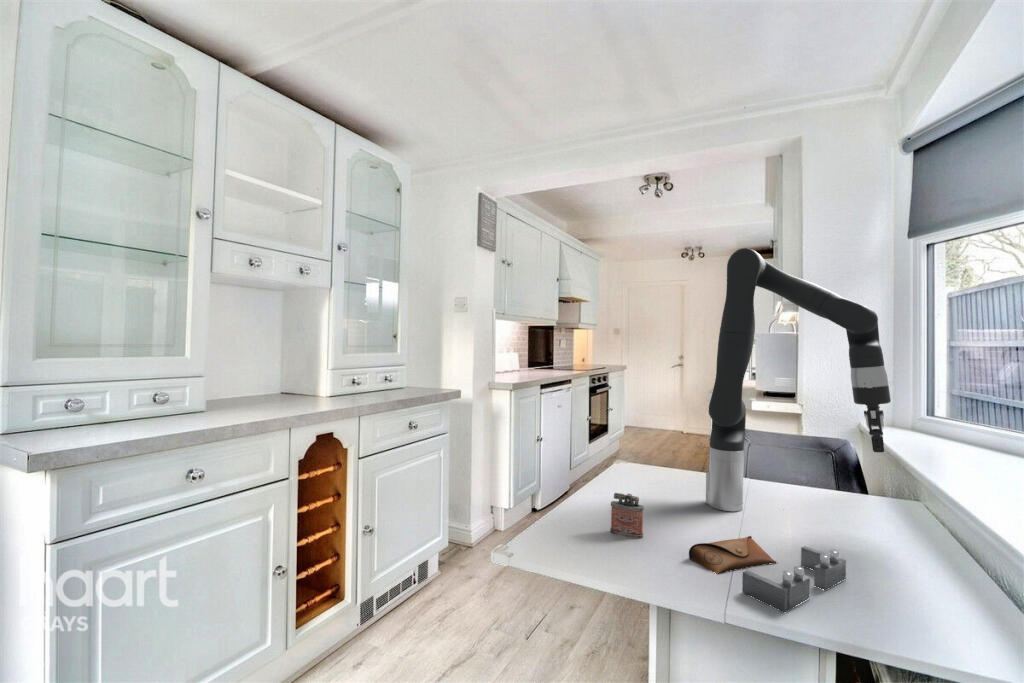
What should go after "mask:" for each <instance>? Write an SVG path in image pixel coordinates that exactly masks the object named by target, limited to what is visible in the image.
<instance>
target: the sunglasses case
mask: <svg viewBox="0 0 1024 683" xmlns="http://www.w3.org/2000/svg"><path fill="white" fill-rule="evenodd" d="M688 558H689V560H690V561H692V562H694V563H695V562H696V563H695V564H697V565H699V566H701V567H702V568H705V569H706V570H707V571H709V570H710V571H709V572H711V571H712V572H711V573H713V572H715V573H716V574H715V573H714V574H715V575H721V573H722V574H725V573H727V572H726V571H728V572H731V571H730V570H732V571H736V570H735V569H737V570H741V568H742V569H746V567H748V568H752V567H751V566H754V567H758V566H757V565H759V566H764V565H763V564H766V565H770V564H769V563H775V564H777V563H778V561H776V560H775V559H773V558H772V557H771V556H770V555H769V554H768V553H767V552H766V551H765V549H763V548H762V547H761V546H760V545H759V544H758V543H757V542H756V541H755V540H754V539H753V538H752V535H747V536H746V537H742V538H731V539H725V540H724V539H723V540H719V541H714V542H712V541H711V542H709V543H708V542H707V543H706V542H702V543H701V542H700V543H695V544H694V545H692V546H691V547H690V548H689V550H688ZM776 562H777V563H776ZM724 572H725V573H724Z"/></svg>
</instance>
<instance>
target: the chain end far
mask: <svg viewBox="0 0 1024 683" xmlns="http://www.w3.org/2000/svg"><path fill="white" fill-rule="evenodd" d="M802 566H804V567H803V568H805V567H808V568H811V569H813V570H814V571H813V570H812V571H813V572H814V574H813V587H814V586H816V587H819V588H821V589H824V590H826V589H828V588H830V587H831V586H833V585H835V584H837V583H838V582H840V581H842V580H844V579H846V580H847V559H844V558H841V557H840V551H838V550H835V549H830V550H829V553H826V552H823V551H821V550H817V549H815V548H812V547H809V546H806V545H804V546H802V547H801V549H800V567H802ZM808 568H807V569H808ZM837 585H838V584H837ZM835 586H836V585H835ZM816 587H815V588H816ZM819 588H818V589H819ZM821 589H820V590H821ZM830 589H831V588H830ZM828 590H829V589H828ZM826 591H827V590H826Z"/></svg>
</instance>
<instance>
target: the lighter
mask: <svg viewBox="0 0 1024 683" xmlns="http://www.w3.org/2000/svg"><path fill="white" fill-rule="evenodd" d="M613 499H614V500H611V501H610V506H611V510H610V511H611V512H610V515H611V517H610V519H611V520H610V532H609V533H610V534H611V535H615V536H619V537H623V538H629V539H638V540H639V539H643V538H644V533H643V529H644V528H643V526H644V523H643V522H644V520H643V518H644V510H645V508H644V505H643V504H640V497H639V496H635V495H633V494H631V493H627V494H624V493H620V492H619V493H618V492H614V494H613ZM615 499H616V500H615Z"/></svg>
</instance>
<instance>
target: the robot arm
mask: <svg viewBox="0 0 1024 683" xmlns="http://www.w3.org/2000/svg"><path fill="white" fill-rule="evenodd" d="M756 287H757V288H760V289H761V288H762V289H764V290H767V291H769V292H772V293H773V294H777V295H778V296H780V297H782V298H783V299H785V300H787V301H789V302H790V303H792V304H794V305H796V306H798V308H799V307H800V308H802V309H804V310H806V311H808V312H809V313H812V314H814V315H816V316H818V317H820V318H823V319H826V320H829V322H832V323H834V324H835V325H838V326H839V327H841V328H844V329H845V331H846V338H847V342H848V359H849V366H850V382H851V389H852V396H853V403H854V404H856V405H860V406H861V405H864V406H866V408H867V410H863V415H864V416H863V418H864V419H865V423H866V425H865V426H866V429H868V434H869V437H870V439H871V446H872V452H874V453H884V452H885V447H884V444H885V443H884V431H883V430H884V429H885V423H884V419H885V415H884V414H885V412H884V409H883V410H882V409H881V406H880V405H886V404H890V403H891V400H892V399H891V393H890V386H889V380H888V374H887V370H886V367H885V361H884V353H883V349H882V346H881V344H880V334H879V317H878V315H877V312H876V311H874V310H873V309H872V308H870V307H868V306H866V305H863V304H860V303H858V302H855V301H853V300H850V299H848V298H845V297H842V296H841V295H839V294H837V293H836V292H834V291H832V290H829V289H828V288H825V287H822V286H821V285H818V284H816V283H814V282H811V281H808V280H805V279H802V278H800V277H797V276H795V275H792V274H789V273H787V272H785V271H783V270H781V269H779V268H777V267H775V265H773V264H771V263H770V262H768V261H767V260H765V259H764V257H763V256H761V254H760V253H758V252H757V251H756V250H755V249H752V248H749V247H748V248H747V247H744V248H739V249H737V250H736V251H734V252H733V253H732V254H731V255H730V256H729V258H728V261H727V265H726V294H725V302H724V304H723V312H722V314H721V321H720V328H719V334H718V343H717V344H718V345H717V352H716V354H717V355H716V367H715V368H716V370H715V371H716V373H715V379H714V385H713V388H712V393H711V398H710V400H709V404H708V415H709V417H710V419H711V430H710V435H709V460H708V461H709V463H708V464H709V465H708V466H709V467H708V468H709V470H708V471H706V472H705V504H707V505H708V506H710V507H711V508H714V509H716V510H720V511H725V512H739V511H740V512H741V511H742V510H743V508H744V505H743V504H744V501H743V500H744V464H745V462H744V460H745V458H744V457H745V456H744V455H745V453H744V452H745V450H744V449H745V439H746V422H747V421H746V418H747V414H746V413H747V412H746V411H747V410H746V404H745V403H744V401H743V400H744V399H743V384H744V380H745V376H746V373H747V369H748V367H749V363H750V359H751V357H752V354H753V353H752V351H753V348H754V346H753V345H754V340H755V334H756V333H755V332H756V320H755V314H756V313H755V304H754V303H755V302H754V299H755V291H756ZM880 409H881V410H880Z"/></svg>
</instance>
